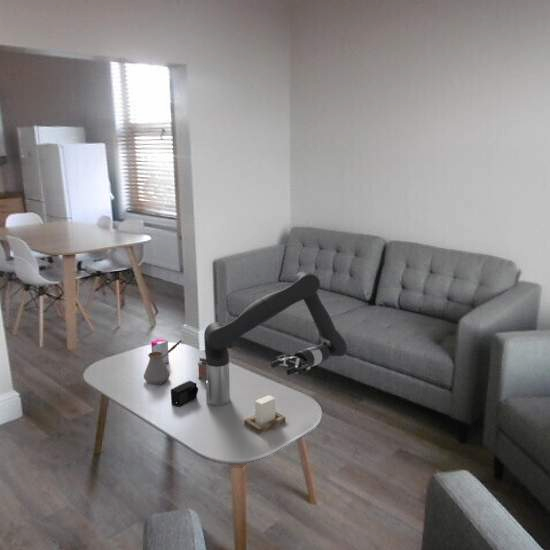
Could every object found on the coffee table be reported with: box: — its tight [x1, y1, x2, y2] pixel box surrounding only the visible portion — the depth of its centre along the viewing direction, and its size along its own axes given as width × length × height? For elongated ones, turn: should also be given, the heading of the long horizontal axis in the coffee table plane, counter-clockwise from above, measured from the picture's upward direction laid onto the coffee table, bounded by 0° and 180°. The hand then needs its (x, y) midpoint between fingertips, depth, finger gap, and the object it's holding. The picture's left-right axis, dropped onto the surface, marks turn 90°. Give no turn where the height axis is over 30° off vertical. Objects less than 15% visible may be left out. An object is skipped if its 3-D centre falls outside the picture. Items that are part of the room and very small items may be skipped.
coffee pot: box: [143, 339, 184, 386], centre depth 236 cm, size 21×12×15 cm, turn 141°
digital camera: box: [170, 380, 199, 408], centre depth 215 cm, size 10×5×7 cm, turn 142°
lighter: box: [197, 357, 207, 381], centre depth 235 cm, size 8×3×10 cm, turn 74°
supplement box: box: [150, 338, 170, 365], centre depth 251 cm, size 6×6×12 cm
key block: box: [254, 394, 276, 426], centre depth 199 cm, size 4×7×10 cm, turn 132°
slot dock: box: [243, 411, 286, 435], centre depth 200 cm, size 13×9×2 cm
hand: (279, 368), depth 201 cm, fingers open, 8 cm apart
